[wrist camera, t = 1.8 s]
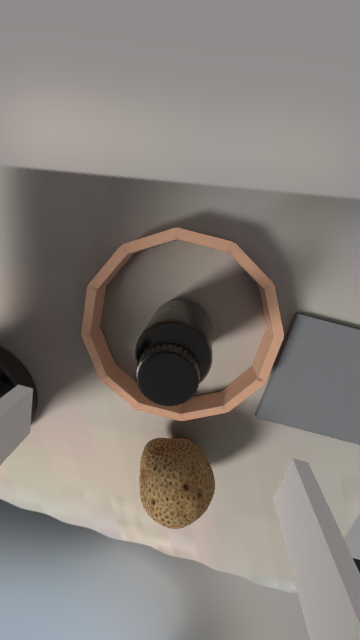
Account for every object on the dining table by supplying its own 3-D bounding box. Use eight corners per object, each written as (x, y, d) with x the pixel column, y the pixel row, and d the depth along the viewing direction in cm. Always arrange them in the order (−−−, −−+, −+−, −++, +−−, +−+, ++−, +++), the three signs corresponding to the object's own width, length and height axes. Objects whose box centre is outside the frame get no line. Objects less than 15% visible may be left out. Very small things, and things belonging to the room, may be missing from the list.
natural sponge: (208, 476, 36) (210, 559, 27) (146, 467, 37) (127, 546, 27) (216, 423, 34) (221, 495, 24) (149, 414, 34) (129, 482, 25)
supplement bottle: (160, 290, 29) (133, 322, 18) (218, 308, 29) (228, 351, 18) (146, 343, 31) (113, 403, 20) (200, 360, 31) (198, 429, 20)
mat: (255, 414, 33) (256, 417, 32) (296, 312, 28) (298, 314, 28) (361, 442, 33) (364, 446, 32) (419, 344, 28) (423, 346, 28)
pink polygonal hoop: (84, 380, 33) (73, 392, 30) (108, 210, 27) (97, 207, 24) (240, 420, 33) (243, 437, 30) (302, 260, 27) (314, 262, 24)
